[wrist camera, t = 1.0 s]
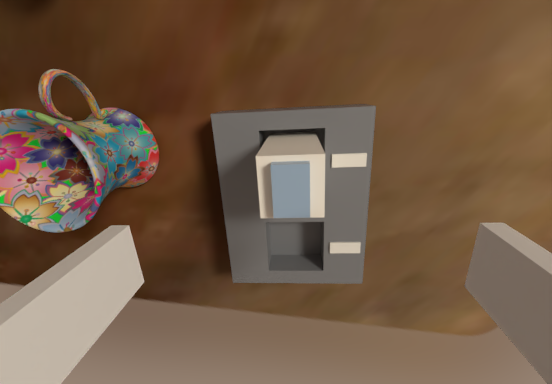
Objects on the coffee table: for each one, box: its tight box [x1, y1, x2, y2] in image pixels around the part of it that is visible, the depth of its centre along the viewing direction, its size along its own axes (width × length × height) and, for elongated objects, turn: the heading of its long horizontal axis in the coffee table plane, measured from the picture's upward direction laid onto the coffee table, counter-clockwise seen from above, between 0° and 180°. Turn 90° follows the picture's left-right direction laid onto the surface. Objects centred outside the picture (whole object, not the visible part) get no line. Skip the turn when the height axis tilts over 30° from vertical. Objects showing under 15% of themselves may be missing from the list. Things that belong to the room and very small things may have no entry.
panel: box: [211, 104, 376, 283], centre depth 27 cm, size 14×18×4 cm
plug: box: [256, 132, 325, 218], centre depth 22 cm, size 4×4×11 cm
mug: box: [0, 69, 159, 232], centre depth 23 cm, size 12×9×11 cm
